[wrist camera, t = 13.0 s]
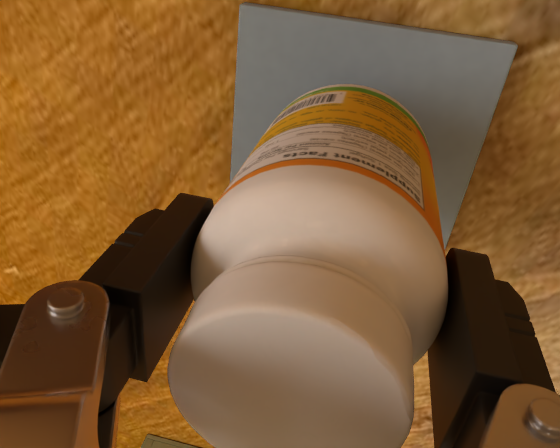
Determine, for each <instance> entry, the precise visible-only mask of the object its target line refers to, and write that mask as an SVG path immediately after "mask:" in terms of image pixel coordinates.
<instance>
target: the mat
mask: <svg viewBox="0 0 560 448" xmlns="http://www.w3.org/2000/svg"><path fill="white" fill-rule="evenodd" d="M517 48H518V45H517V44H516V43H515V42H512V41H505V40H498V39H492V38H485V37H478V36H471V35H464V34H458V33H451V32H444V31H437V30H431V29H424V28H417V27H410V26H403V25H397V24H390V23H383V22H376V21H370V20H363V19H356V18H349V17H342V16H336V15H329V14H322V13H315V12H308V11H302V10H295V9H288V8H281V7H275V6H268V5H261V4H254V3H247V2H244V3H242V4H240V10H239V28H238V46H237V64H236V82H235V101H234V119H233V137H232V155H231V173H230V183H231V181H232V180H233V178H234V177H235V175H236V174H237V173H238V171H239V170H240V168H241V167H242V165H243V164H244V162H245V161H246V160H247V158H248V157H249V155H250V154H251V152H252V151H253V150H254V148H255V147H256V145H257V144H258V142H259V141H260V139H261V138H262V136H263V135H264V133H265V132H266V131H267V129H268V128H269V126H270V125H271V124H272V122H273V121H274V120H275V119H276V117H277V116H278V115H279V114H280V113H281V112H282V111H283V110H284V109H285V108H286V107H287V106H288V105H289V104H290V103H291V102H293V101H294V100H295V99H297V98H298V97H300V96H302V95H303V94H305V93H307V92H309V91H312V90H315V89H318V88H321V87H325V86H330V85H337V84H354V85H361V86H366V87H370V88H373V89H376V90H378V91H381V92H383V93H385V94H387V95H389V96H390V97H392V98H393V99H395V100H396V101H398V102H399V103H400V104H402V105H403V106H404V107H405V108H406V109H407V110H408V111H409V112H410V113H411V114H412V115H413V116H414V118H415V119H416V120H417V122H418V123H419V125H420V126H421V128H422V130H423V132H424V134H425V137H426V140H427V142H428V146H429V150H430V154H431V159H432V166H433V173H434V180H435V187H436V195H437V201H438V207H439V216H440V223H441V230H442V237H443V243H444V250H445V248H446V246H447V243H448V240H449V237H450V234H451V232H452V229H453V226H454V223H455V221H456V218H457V215H458V212H459V209H460V207H461V204H462V201H463V198H464V196H465V193H466V190H467V187H468V184H469V182H470V179H471V176H472V173H473V170H474V168H475V165H476V162H477V159H478V157H479V154H480V151H481V148H482V145H483V143H484V140H485V137H486V134H487V131H488V129H489V126H490V123H491V120H492V118H493V115H494V112H495V109H496V106H497V104H498V101H499V98H500V95H501V92H502V90H503V87H504V84H505V81H506V79H507V76H508V73H509V70H510V67H511V65H512V62H513V59H514V56H515V53H516V51H517Z"/></svg>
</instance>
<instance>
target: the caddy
mask: <svg viewBox="0 0 560 448" xmlns="http://www.w3.org/2000/svg"><path fill="white" fill-rule="evenodd" d="M141 448H198V447H194V446H191V445H187V444H183V443H179V442H176V441H172V440H168V439H165V438H161V437H157V436H154V435H150V434H147V436H146V439H145V440H144V442H143V444H142V446H141Z"/></svg>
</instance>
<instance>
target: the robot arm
mask: <svg viewBox="0 0 560 448" xmlns="http://www.w3.org/2000/svg"><path fill="white" fill-rule="evenodd" d="M213 207H214V205H213V200H212V199H210V198H205V197H200V196H195V195H190V194H185V193H180V194H178V195H177V197H176V198H175V199H174V200H173V201H172V202H171V204H170V205H169V206H168V207H167V208H166V209H165V211H164V210H159V209H153V210H151V211H149V212H147V213H145V214H143V215H141V216H139V217H137V218H136V219H135V220H134V221H133V222H132V223H131V224H130V225H129V226H128V227H127V229H126V230H125V232H124V233H122V234H121V235H120V236H119V237H118V238H117V239H116V240H115V243H114V244H112V245H111V246H110V247H109V248H108V249H107V250H106V251H105V252H104V253H103V254H102V255H101V256H100V258H99V259H98V260H97V261H96V262H95V263H94V264H93V265H92V266H91V267H90V268H89V269H88V270H87V271H86V273H85V274H84V275H83V276H82V277H81V278H80V279H79V280H73V281H64V282H59V283H56V284H52V285H50V286H47V287H45V288H43V289H41V290H39V291H38V292H37V293H35V294H34V295H33V296H32V297H31V298H29V300H28V301H27V302H26V304H13V305H0V448H116V440H117V431H118V421H119V412H120V392H121V390H122V389H123V387H124V385H125V384H126V382H127V381H128V379H129V378H132V379H136V380H140V381H144V382H147V381H148V379H149V378H150V376H151V374H152V372H153V370H154V369H155V367H156V365H157V363H158V362H159V360H160V358H161V356H162V355H163V353H164V351H165V349H166V347H167V346H168V344H169V342H170V340H171V339H172V337H173V335H174V333H175V331H176V330H177V328H178V326H179V324H180V323H181V321H182V319H183V317H184V315H185V314H186V312H187V310H188V308H189V307H190V305H191V303H192V301H193V300H194V297H193V292H192V285H191V274H190V273H191V260H192V254H193V249H194V245H195V242H196V239H197V237H198V234H199V232H200V230H201V228H202V226H203V224H204V223H205V221H206V219H207V217H208V216H209V214H210V212H211V210H212V209H213ZM446 264H447V276H448V304H447V309H446V314H445V318H444V322H443V324H442V326H441V329H440V331H439V333H438V335H437V337H436V338H435V340H434V342H433V344H432V345H431V346H430V348H429V349H428V363H429V377H430V391H431V405H432V420H433V434H434V448H560V395H558V394H557V393H556V392H555V389H554V386H553V383H552V380H551V377H550V374H549V372H548V369H547V366H546V363H545V360H544V357H543V354H542V351H541V349H540V346H539V343H538V340H537V338H536V337H535V331H534V328H533V325H532V323H531V322H529V320H530V317H529V314H528V311H527V308H526V305H525V302H524V300H523V299H522V298H521V296H520V295H519V294H518V293H517V292H516V291H515V290H514V288H513V287H512V286H511V285H510V284H509V283H508V282H504V281H500V280H495V278H494V275H493V271H492V268H491V264H490V261H489V258H488V256H487V255H486V254H481V253H476V252H471V251H466V250H461V249H456V248H451V249H450V250H449V252H448V254H447V256H446Z"/></svg>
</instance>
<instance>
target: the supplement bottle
mask: <svg viewBox="0 0 560 448" xmlns="http://www.w3.org/2000/svg"><path fill="white" fill-rule="evenodd" d="M190 274H191V285H192V292H193V297H194V301H195V303H194V305H193V307H192V309H191V311H190V313H189V316H188V318H187V320H186V322H185V324H184V326H183V328H182V330H181V332H180V334H179V335H178V337H177V339H176V341H175V343H174V345H173V347H172V350H171V353H170V357H169V363H168V382H169V387H170V391H171V394H172V396H173V399H174V401H175V403H176V405H177V407H178V409H179V411H180V412H181V414H182V415H183V417H184V418H185V419H186V421H187V422H188V423H189V424H190V426H191V427H192V428H193V429H194V430H195V431H196V432H197V433H198V434H199V435H201V436H202V437H203V438H204V439H205V440H206V441H208V442H209V443H210V444H211V445H213V446H214V447H215V448H401V446H402V445H403V443H404V441H405V440H406V438H407V436H408V435H409V432H410V429H411V425H412V421H413V415H414V376H413V365H414V364H415V363H416V362H417V361H418V360H419V359H420V358H421V357H422V356H423V355H424V354H425V353H426V351H427V350H428V349H429V348H430V346H431V345H432V344H433V342H434V340H435V338H436V337H437V335H438V333H439V331H440V329H441V326H442V324H443V322H444V318H445V314H446V309H447V304H448V276H447V264H446V257H445V250H444V243H443V237H442V230H441V223H440V216H439V207H438V201H437V195H436V187H435V180H434V173H433V166H432V159H431V154H430V150H429V146H428V142H427V140H426V137H425V134H424V132H423V130H422V128H421V126H420V125H419V123H418V122H417V120H416V119H415V118H414V116H413V115H412V114H411V113H410V112H409V111H408V110H407V109H406V108H405V107H404V106H403V105H402V104H400V103H399V102H398V101H396V100H395V99H393V98H392V97H390V96H389V95H387V94H385V93H383V92H381V91H378V90H376V89H373V88H370V87H366V86H361V85H354V84H337V85H330V86H325V87H321V88H318V89H315V90H312V91H309V92H307V93H305V94H303V95H302V96H300V97H298V98H297V99H295V100H294V101H293V102H291V103H290V104H289V105H288V106H287V107H286V108H285V109H284V110H283V111H282V112H281V113H280V114H279V115H278V116H277V117H276V119H275V120H274V121H273V122H272V124H271V125H270V126H269V128H268V129H267V131H266V132H265V133H264V135H263V136H262V138H261V139H260V141H259V142H258V144H257V145H256V147H255V148H254V150H253V151H252V152H251V154H250V155H249V157H248V158H247V160H246V161H245V162H244V164H243V165H242V167H241V168H240V170H239V171H238V173H237V174H236V175H235V177H234V178H233V180H232V181H231V183H230V184H229V185H228V187H227V188H226V190H225V191H224V193H223V194H222V195H221V197H220V198H219V199H218V201H217V202H216V204H215V205H214V207H213V209H212V210H211V212H210V214H209V216H208V217H207V219H206V221H205V223H204V224H203V226H202V228H201V230H200V232H199V234H198V237H197V239H196V242H195V245H194V249H193V254H192V260H191V273H190Z"/></svg>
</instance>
